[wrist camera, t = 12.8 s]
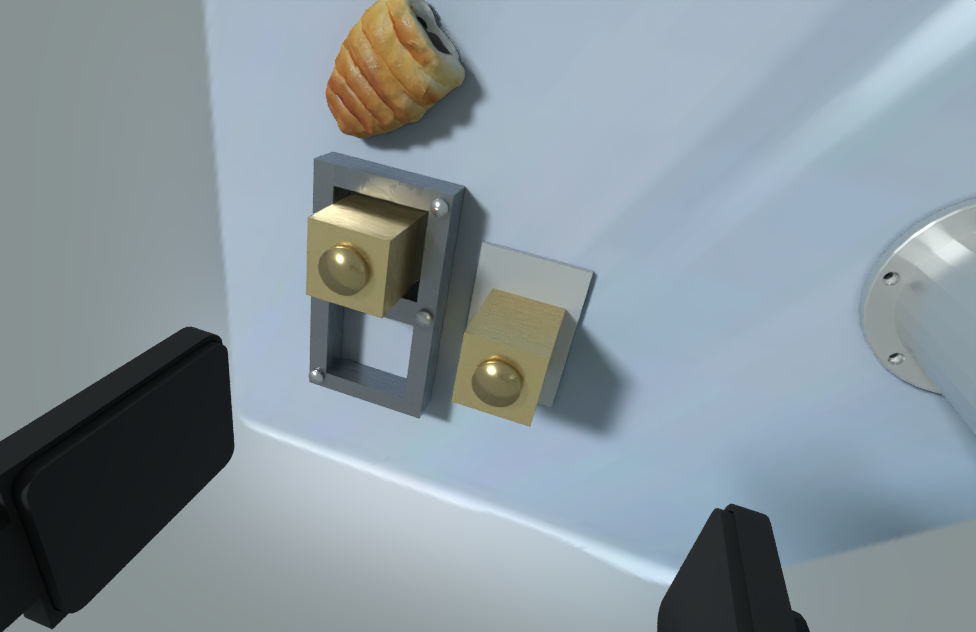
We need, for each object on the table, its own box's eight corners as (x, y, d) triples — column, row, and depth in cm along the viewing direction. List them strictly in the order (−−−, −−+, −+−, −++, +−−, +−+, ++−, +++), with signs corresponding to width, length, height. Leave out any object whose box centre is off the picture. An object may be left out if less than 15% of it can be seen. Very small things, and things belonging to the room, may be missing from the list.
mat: (593, 271, 38) (592, 273, 37) (552, 405, 43) (551, 408, 43) (483, 240, 39) (482, 242, 38) (458, 375, 45) (456, 377, 44)
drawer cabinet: (464, 186, 37) (451, 197, 35) (430, 401, 47) (417, 421, 44) (332, 151, 39) (310, 159, 36) (324, 366, 48) (306, 384, 46)
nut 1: (430, 209, 39) (385, 244, 32) (421, 277, 41) (377, 322, 35) (360, 189, 40) (302, 219, 33) (355, 257, 42) (301, 298, 36)
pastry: (378, 160, 38) (352, 171, 35) (315, 76, 37) (282, 80, 34) (478, 73, 34) (459, 76, 31) (412, -26, 33) (384, -33, 29)
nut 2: (565, 308, 39) (548, 363, 32) (548, 370, 42) (528, 432, 35) (492, 287, 40) (461, 337, 33) (480, 349, 42) (448, 406, 36)
